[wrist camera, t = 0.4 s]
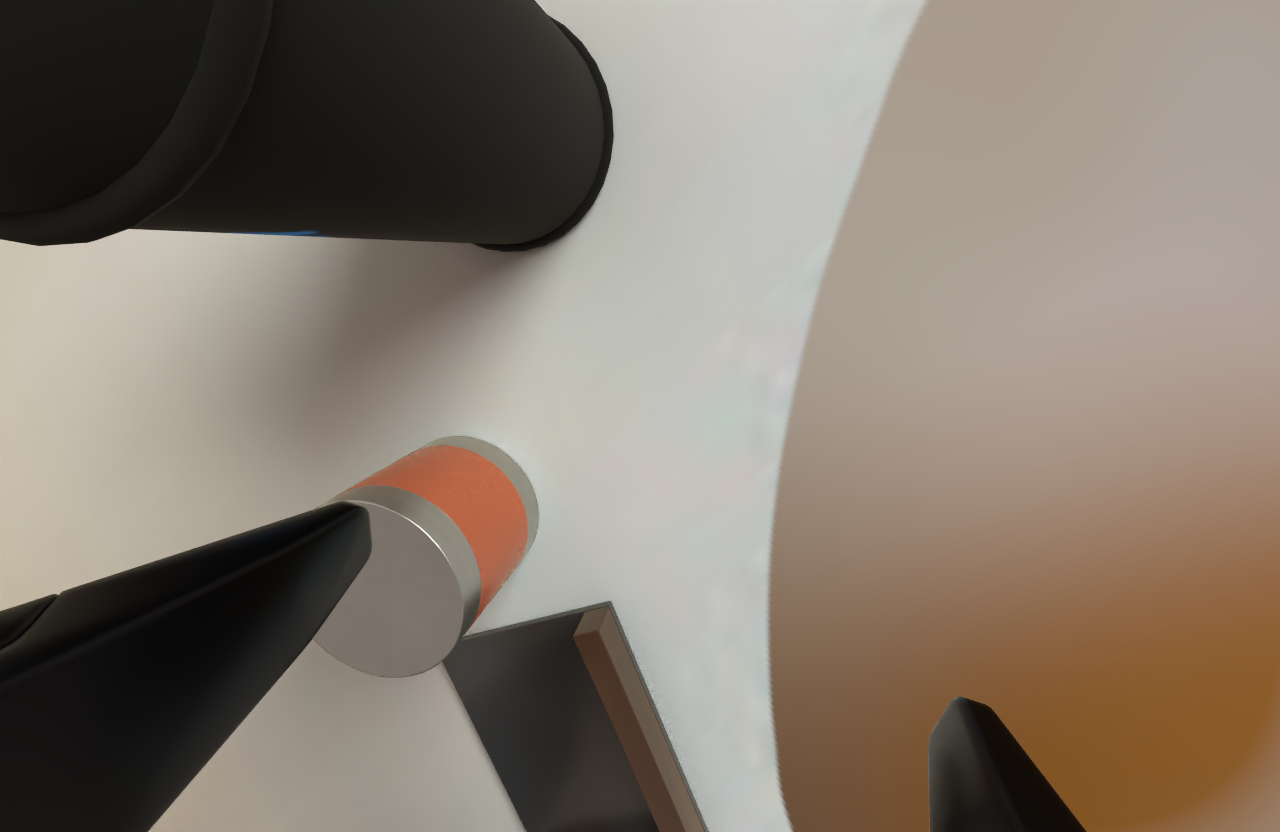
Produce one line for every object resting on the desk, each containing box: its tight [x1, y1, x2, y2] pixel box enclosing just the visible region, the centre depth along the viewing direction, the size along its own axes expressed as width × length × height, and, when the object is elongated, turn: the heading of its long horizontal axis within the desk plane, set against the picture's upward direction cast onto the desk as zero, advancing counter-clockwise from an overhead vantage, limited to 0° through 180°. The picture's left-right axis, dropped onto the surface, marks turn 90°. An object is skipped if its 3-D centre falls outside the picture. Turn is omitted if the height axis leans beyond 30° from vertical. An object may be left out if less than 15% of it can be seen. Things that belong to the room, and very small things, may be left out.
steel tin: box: [313, 436, 539, 678], centre depth 23 cm, size 7×7×7 cm
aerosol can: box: [0, 0, 614, 252], centre depth 12 cm, size 8×8×20 cm
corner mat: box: [442, 601, 708, 832], centre depth 27 cm, size 9×14×2 cm, turn 21°
